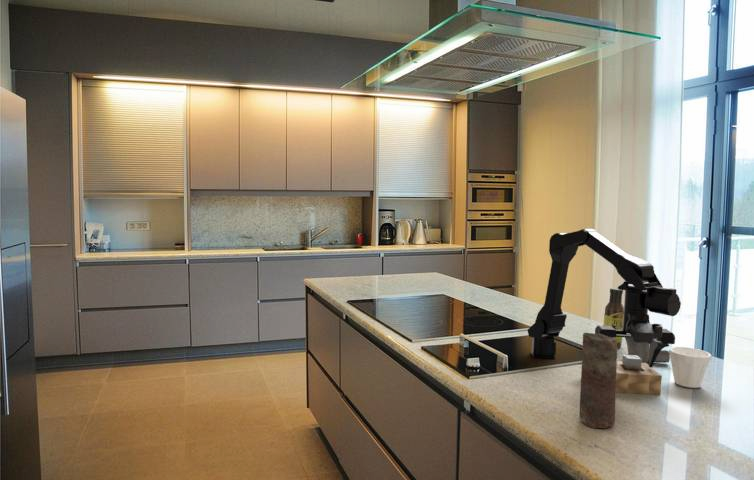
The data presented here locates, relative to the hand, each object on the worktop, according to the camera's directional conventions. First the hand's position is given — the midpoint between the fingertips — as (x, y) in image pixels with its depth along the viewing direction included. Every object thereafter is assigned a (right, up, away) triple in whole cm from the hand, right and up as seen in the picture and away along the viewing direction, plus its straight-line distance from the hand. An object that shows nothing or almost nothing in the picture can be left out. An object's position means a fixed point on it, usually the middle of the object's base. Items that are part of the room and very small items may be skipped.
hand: (632, 365), depth 145 cm
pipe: (+15, -4, +23) cm, 27 cm away
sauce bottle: (+12, -3, +40) cm, 42 cm away
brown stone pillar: (-19, -7, -24) cm, 32 cm away
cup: (+16, -6, +2) cm, 17 cm away
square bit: (0, -6, +1) cm, 6 cm away
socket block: (0, -6, 0) cm, 6 cm away
